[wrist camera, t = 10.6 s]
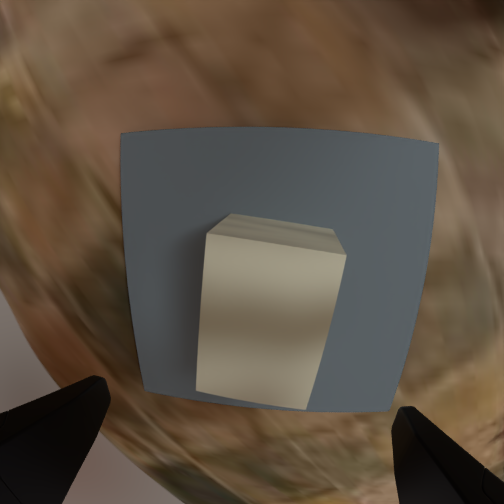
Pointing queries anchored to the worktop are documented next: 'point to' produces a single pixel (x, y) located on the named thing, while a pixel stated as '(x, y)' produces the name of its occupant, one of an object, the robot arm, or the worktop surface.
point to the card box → (266, 309)
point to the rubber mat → (289, 210)
